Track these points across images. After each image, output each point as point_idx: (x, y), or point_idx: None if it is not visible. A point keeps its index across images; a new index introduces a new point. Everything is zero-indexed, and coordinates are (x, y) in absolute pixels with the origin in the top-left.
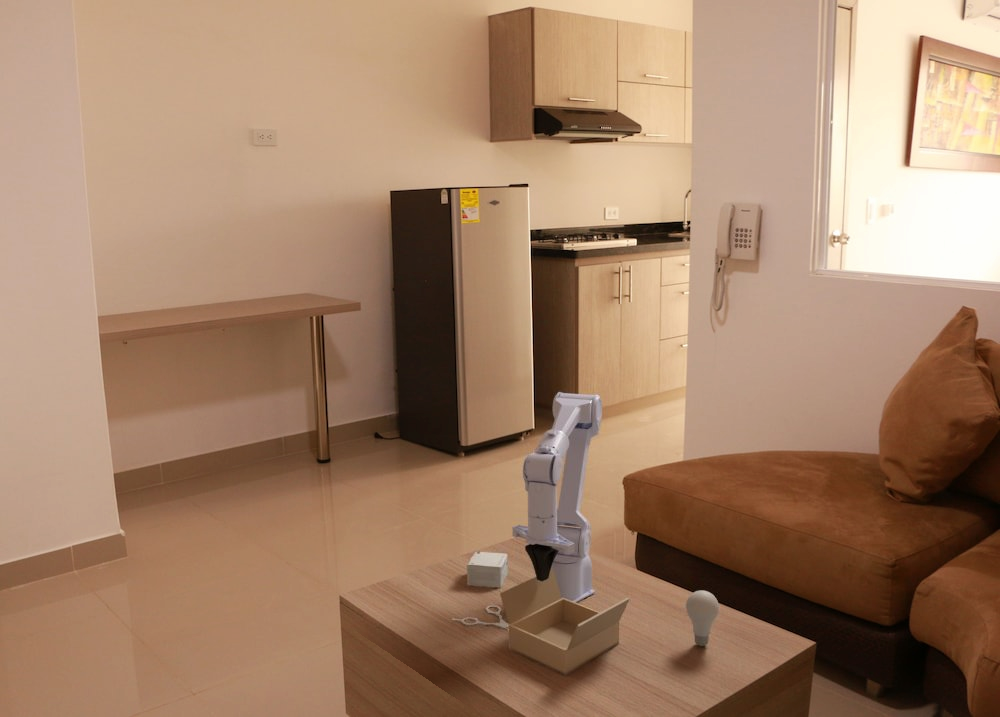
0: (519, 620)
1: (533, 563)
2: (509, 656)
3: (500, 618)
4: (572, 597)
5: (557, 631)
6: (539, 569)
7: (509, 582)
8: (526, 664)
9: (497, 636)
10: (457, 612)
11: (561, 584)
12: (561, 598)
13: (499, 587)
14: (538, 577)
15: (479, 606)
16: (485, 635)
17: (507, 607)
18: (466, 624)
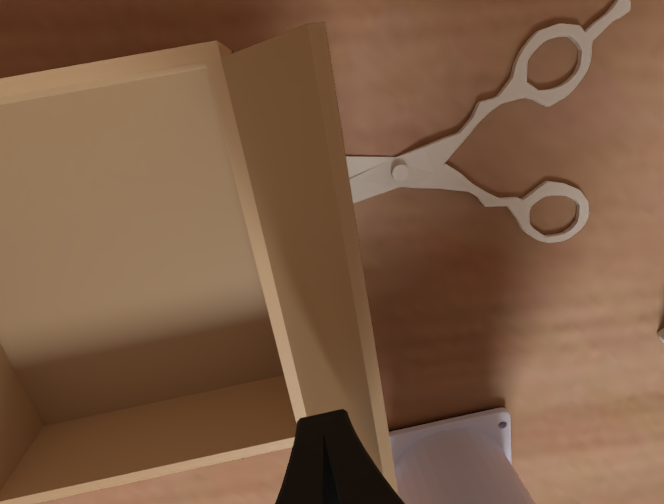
0: (232, 135)
1: (381, 500)
2: (175, 10)
3: (474, 189)
4: (396, 477)
5: (230, 305)
6: (305, 484)
7: (658, 379)
8: (64, 30)
9: (366, 85)
10: (655, 72)
11: (438, 494)
12: None
13: (660, 331)
14: (325, 425)
15: (618, 184)
16: (408, 44)
17: (260, 66)
18: (543, 29)
